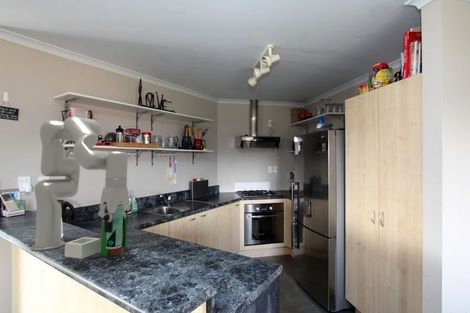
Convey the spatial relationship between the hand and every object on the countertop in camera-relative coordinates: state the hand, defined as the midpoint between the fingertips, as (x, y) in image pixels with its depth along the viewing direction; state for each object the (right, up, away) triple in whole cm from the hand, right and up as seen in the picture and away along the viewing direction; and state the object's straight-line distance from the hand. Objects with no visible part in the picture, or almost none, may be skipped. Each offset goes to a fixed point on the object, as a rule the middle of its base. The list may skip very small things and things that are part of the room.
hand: (114, 229), depth 94 cm
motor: (-7, -14, +12) cm, 19 cm away
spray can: (0, -7, 0) cm, 7 cm away
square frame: (-19, -13, +10) cm, 25 cm away
